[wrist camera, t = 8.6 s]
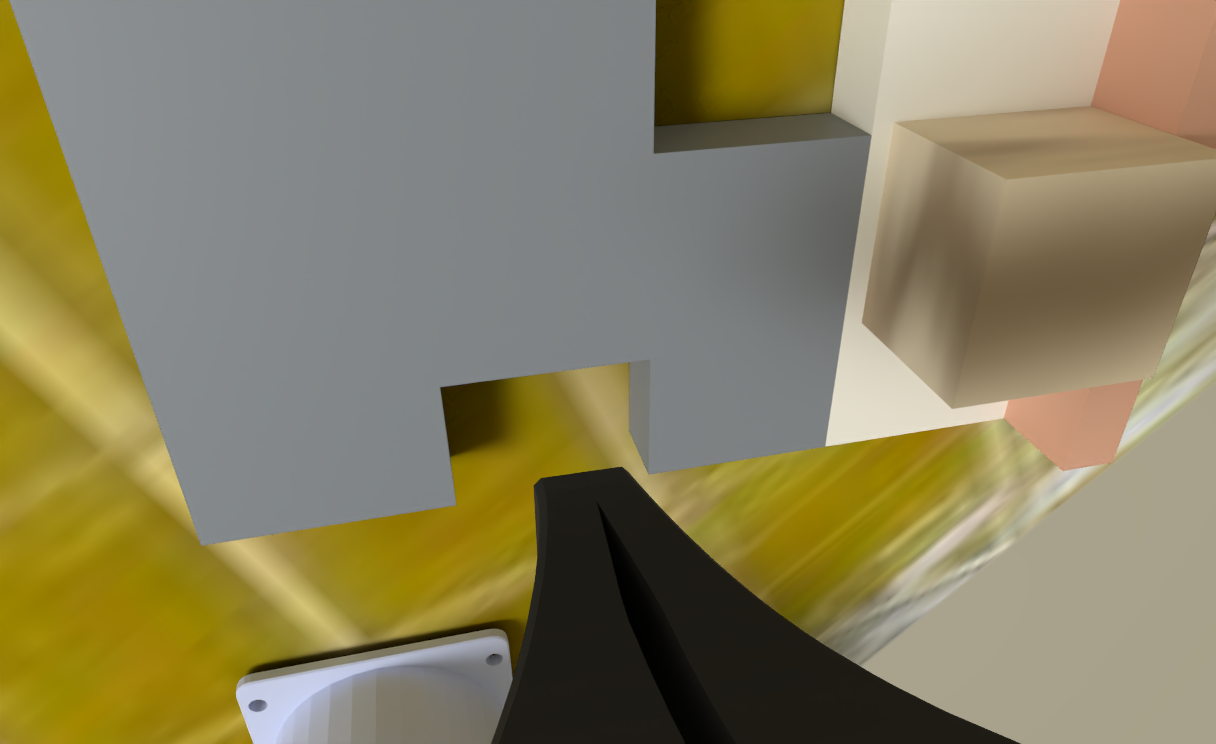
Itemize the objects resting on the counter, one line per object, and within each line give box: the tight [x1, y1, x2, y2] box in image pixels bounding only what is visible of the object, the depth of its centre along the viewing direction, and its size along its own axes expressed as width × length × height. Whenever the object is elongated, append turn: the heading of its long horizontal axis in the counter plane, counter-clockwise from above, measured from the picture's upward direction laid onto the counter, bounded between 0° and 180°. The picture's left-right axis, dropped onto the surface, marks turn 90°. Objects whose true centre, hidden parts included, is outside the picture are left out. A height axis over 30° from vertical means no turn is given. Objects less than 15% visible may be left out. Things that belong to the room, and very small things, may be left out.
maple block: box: [862, 106, 1216, 409], centre depth 19 cm, size 5×5×4 cm
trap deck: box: [10, 0, 1216, 546], centre depth 19 cm, size 12×23×4 cm, turn 90°
